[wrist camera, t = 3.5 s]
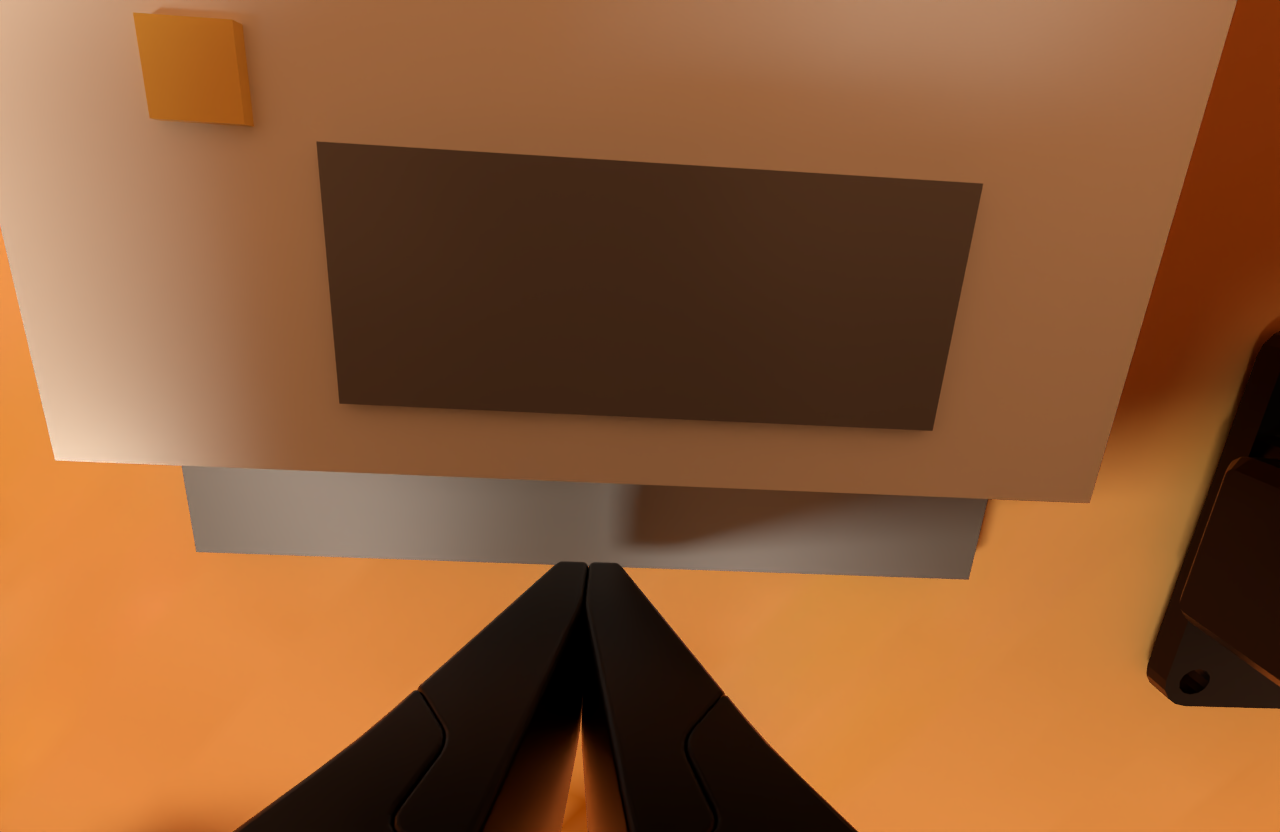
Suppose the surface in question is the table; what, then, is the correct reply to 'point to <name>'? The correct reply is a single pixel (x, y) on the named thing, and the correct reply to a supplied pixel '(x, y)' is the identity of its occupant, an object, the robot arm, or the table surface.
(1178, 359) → the table surface
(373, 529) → the subfloor panel
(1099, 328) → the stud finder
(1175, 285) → the table surface
